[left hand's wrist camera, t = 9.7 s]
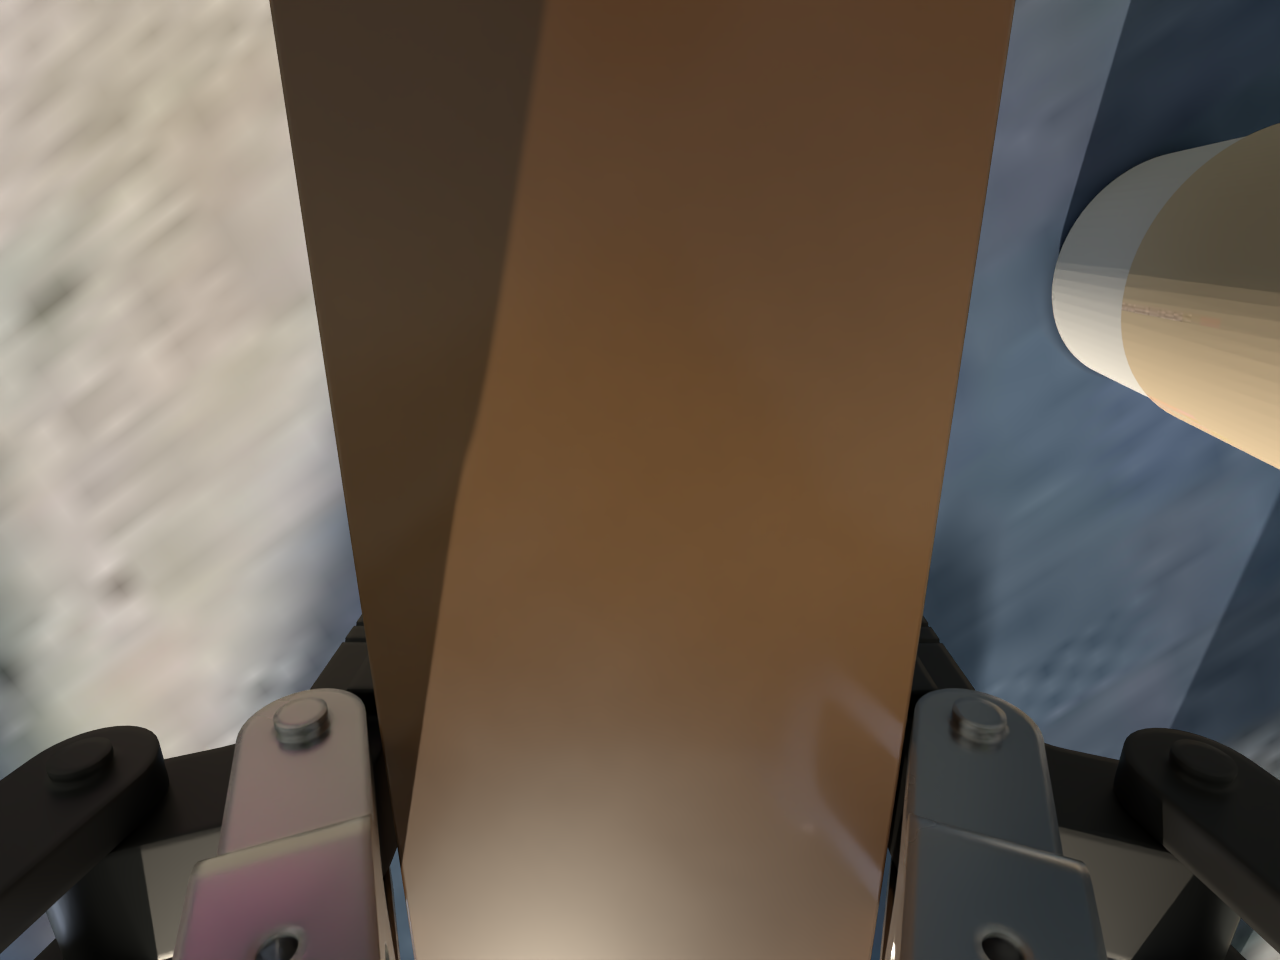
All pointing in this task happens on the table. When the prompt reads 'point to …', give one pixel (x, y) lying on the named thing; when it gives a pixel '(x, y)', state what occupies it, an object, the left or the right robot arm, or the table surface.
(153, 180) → the table surface
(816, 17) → the bar
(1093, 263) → the coffee cup
